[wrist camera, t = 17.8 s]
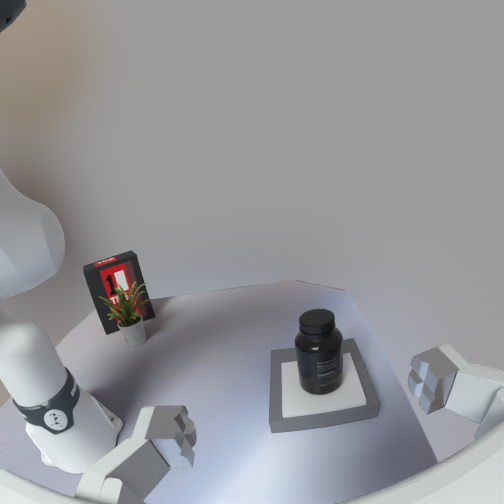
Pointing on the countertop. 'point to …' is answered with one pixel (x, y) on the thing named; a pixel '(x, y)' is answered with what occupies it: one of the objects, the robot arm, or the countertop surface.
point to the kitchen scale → (319, 406)
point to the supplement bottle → (319, 352)
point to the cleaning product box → (110, 275)
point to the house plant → (128, 316)
